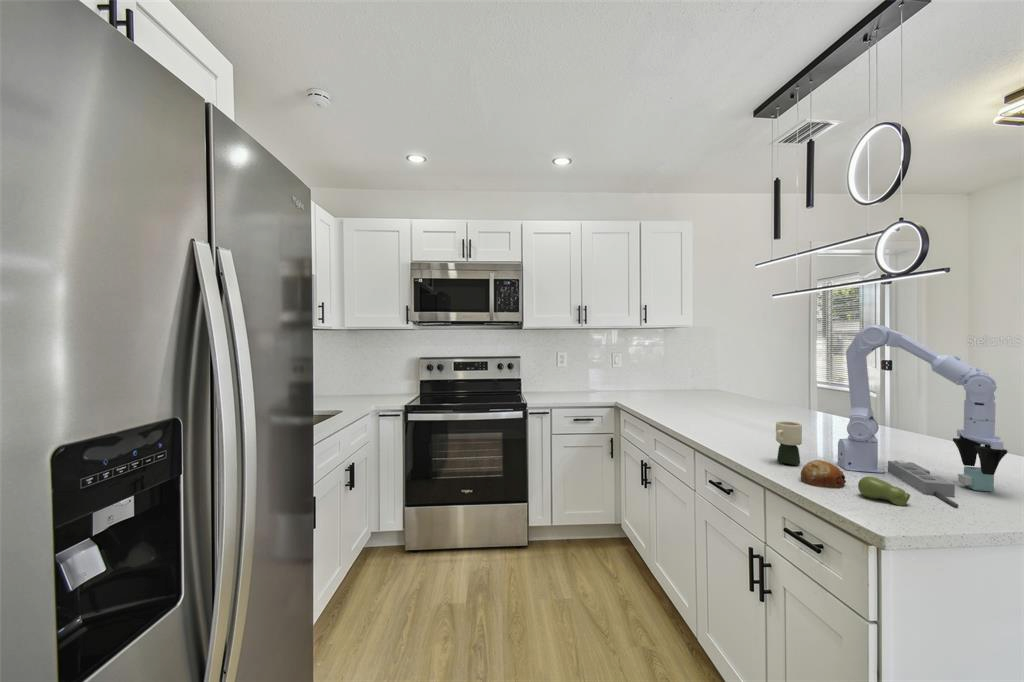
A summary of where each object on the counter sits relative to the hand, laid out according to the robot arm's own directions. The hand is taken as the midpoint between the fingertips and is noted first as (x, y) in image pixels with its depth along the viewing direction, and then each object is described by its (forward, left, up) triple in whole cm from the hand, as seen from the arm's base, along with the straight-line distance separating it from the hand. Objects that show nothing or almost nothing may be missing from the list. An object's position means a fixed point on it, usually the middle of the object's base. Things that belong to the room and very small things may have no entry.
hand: (978, 469), depth 118 cm
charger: (0, 0, -5) cm, 5 cm away
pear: (-27, -17, -6) cm, 32 cm away
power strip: (-12, -3, -5) cm, 14 cm away
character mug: (-41, +11, -5) cm, 43 cm away
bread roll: (-37, -6, -6) cm, 38 cm away
